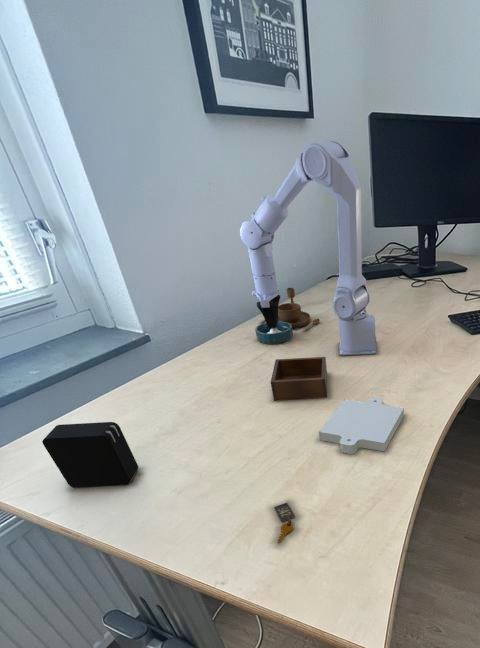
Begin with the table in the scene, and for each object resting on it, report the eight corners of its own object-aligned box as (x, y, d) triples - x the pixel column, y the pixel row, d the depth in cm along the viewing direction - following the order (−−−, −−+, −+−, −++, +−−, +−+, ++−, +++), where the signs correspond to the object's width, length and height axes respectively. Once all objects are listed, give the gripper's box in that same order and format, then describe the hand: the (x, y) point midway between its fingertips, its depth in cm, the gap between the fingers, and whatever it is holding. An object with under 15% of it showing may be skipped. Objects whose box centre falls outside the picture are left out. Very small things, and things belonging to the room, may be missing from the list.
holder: (327, 374, 104) (325, 356, 102) (327, 397, 96) (325, 378, 93) (278, 377, 104) (275, 359, 101) (274, 400, 95) (270, 382, 92)
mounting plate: (380, 459, 78) (379, 450, 76) (314, 447, 81) (313, 438, 80) (406, 410, 91) (407, 402, 90) (349, 401, 94) (348, 393, 93)
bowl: (294, 330, 127) (292, 320, 125) (292, 343, 119) (290, 333, 117) (259, 332, 126) (257, 322, 124) (255, 345, 119) (253, 334, 117)
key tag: (274, 505, 68) (273, 502, 68) (293, 502, 69) (292, 499, 69) (277, 543, 62) (276, 540, 62) (298, 539, 63) (297, 536, 62)
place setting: (255, 325, 130) (250, 305, 127) (290, 305, 145) (287, 286, 141) (305, 333, 125) (302, 312, 121) (336, 311, 139) (335, 292, 136)
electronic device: (81, 473, 76) (53, 424, 69) (140, 469, 76) (117, 421, 70) (70, 488, 73) (39, 439, 66) (131, 484, 73) (106, 435, 67)
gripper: (252, 267, 117) (261, 317, 126) (244, 282, 106) (255, 336, 115) (278, 266, 118) (286, 316, 126) (273, 280, 107) (282, 335, 115)
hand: (273, 325), depth 121 cm, fingers open, 3 cm apart
